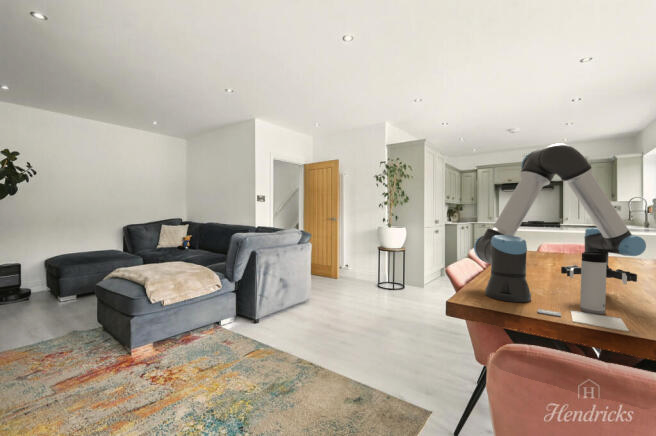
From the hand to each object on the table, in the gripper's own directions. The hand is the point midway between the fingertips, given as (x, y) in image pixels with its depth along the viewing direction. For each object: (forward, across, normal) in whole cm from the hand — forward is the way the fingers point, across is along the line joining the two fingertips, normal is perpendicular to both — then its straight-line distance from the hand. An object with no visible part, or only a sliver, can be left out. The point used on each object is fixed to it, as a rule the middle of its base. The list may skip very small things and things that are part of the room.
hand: (597, 277), depth 102 cm
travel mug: (+4, +1, -11) cm, 12 cm away
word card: (+17, +12, -11) cm, 23 cm away
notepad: (+15, 0, -11) cm, 18 cm away
